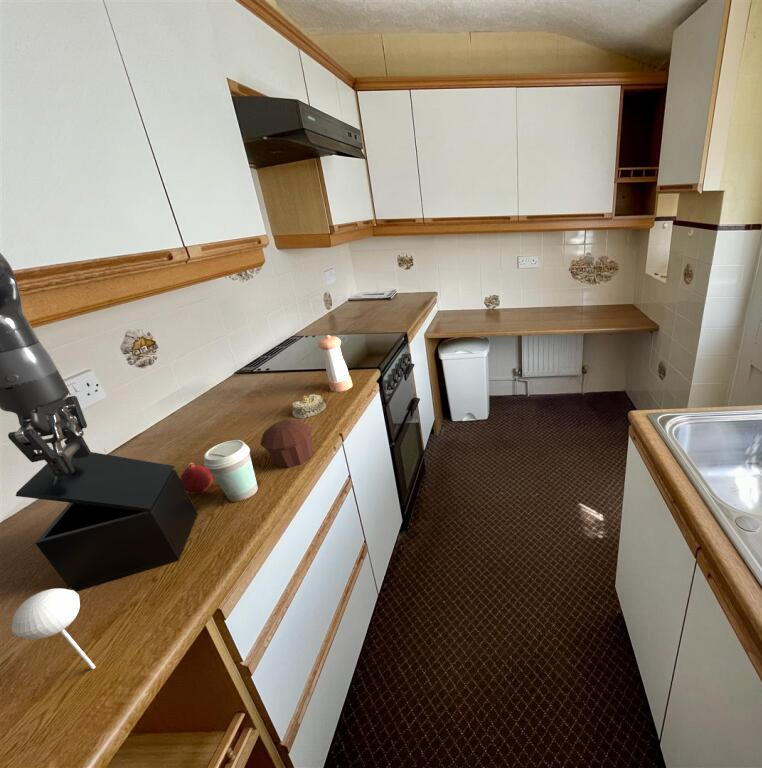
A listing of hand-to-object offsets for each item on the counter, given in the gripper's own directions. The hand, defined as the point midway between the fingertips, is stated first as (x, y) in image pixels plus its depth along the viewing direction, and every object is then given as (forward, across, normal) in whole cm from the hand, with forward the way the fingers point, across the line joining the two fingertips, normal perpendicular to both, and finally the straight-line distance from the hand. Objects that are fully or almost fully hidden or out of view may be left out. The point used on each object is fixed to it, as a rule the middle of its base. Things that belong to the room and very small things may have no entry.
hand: (74, 465), depth 70 cm
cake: (+20, -47, +31) cm, 60 cm away
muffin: (+20, -20, +28) cm, 40 cm away
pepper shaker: (+20, -60, +41) cm, 75 cm away
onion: (+21, -15, +9) cm, 27 cm away
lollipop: (+21, +25, +4) cm, 33 cm away
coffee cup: (+20, -10, +18) cm, 29 cm away
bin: (+21, 0, +2) cm, 21 cm away
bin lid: (+4, 0, +3) cm, 5 cm away
